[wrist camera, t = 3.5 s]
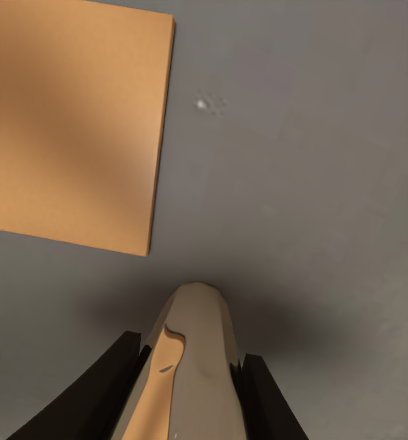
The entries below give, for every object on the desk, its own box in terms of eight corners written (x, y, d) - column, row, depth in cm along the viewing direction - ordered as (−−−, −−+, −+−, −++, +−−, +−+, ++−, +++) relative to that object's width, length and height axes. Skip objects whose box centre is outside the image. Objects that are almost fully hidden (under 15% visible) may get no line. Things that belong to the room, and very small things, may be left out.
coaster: (148, 254, 11) (146, 257, 10) (-41, 219, 11) (-51, 221, 10) (175, 21, 8) (173, 14, 8) (-69, -19, 8) (-82, -28, 8)
